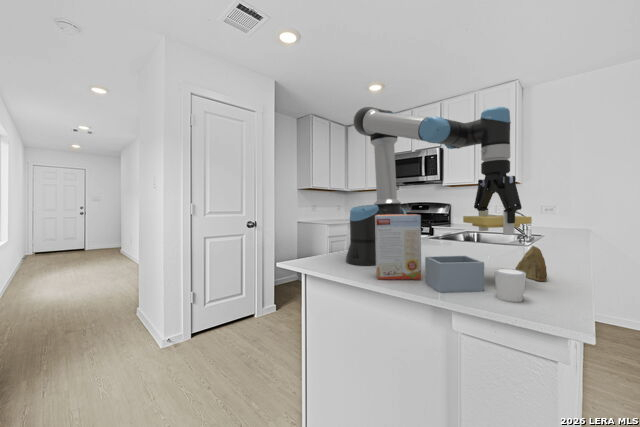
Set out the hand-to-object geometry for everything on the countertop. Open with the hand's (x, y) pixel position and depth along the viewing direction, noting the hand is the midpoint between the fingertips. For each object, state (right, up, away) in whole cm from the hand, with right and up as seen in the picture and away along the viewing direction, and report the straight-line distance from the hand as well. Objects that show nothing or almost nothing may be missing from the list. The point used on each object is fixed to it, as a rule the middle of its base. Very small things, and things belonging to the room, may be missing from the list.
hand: (495, 232), depth 88 cm
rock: (+14, -15, +5) cm, 21 cm away
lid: (0, +3, 0) cm, 3 cm away
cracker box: (-28, -16, +7) cm, 33 cm away
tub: (-15, -16, -4) cm, 22 cm away
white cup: (-5, -16, -14) cm, 22 cm away
